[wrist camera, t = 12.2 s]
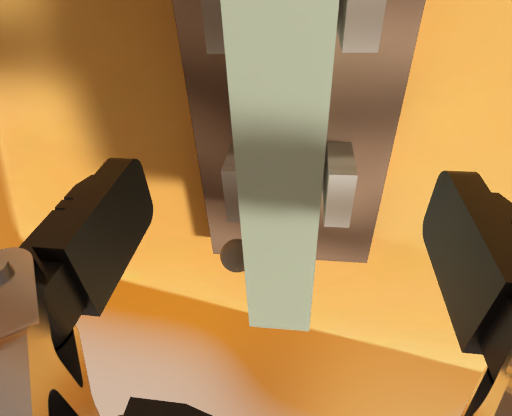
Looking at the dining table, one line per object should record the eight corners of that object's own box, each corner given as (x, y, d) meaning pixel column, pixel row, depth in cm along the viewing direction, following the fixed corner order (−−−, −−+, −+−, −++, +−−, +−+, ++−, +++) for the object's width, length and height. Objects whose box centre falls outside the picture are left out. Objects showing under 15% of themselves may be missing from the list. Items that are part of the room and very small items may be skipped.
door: (222, -80, 13) (138, -86, 7) (330, -86, 12) (349, -99, 6) (244, 204, 21) (216, 323, 15) (310, 207, 20) (309, 331, 14)
